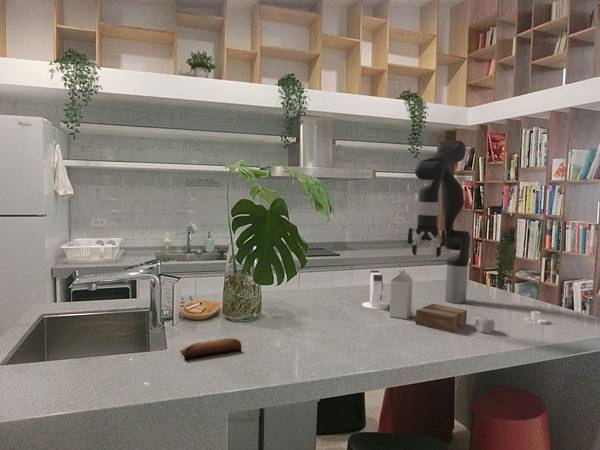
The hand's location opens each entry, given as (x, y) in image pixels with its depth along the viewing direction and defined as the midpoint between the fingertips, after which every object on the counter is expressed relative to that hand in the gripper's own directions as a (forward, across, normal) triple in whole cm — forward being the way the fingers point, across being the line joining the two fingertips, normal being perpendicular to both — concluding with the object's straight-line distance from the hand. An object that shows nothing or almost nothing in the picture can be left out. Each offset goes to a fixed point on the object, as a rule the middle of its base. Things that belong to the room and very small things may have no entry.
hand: (426, 255), depth 172 cm
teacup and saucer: (+27, -38, -24) cm, 53 cm away
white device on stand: (+27, +24, -15) cm, 39 cm away
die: (+27, -22, -2) cm, 35 cm away
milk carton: (+27, +10, -5) cm, 29 cm away
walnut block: (+27, -6, -1) cm, 28 cm away
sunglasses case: (+27, +52, +66) cm, 88 cm away
